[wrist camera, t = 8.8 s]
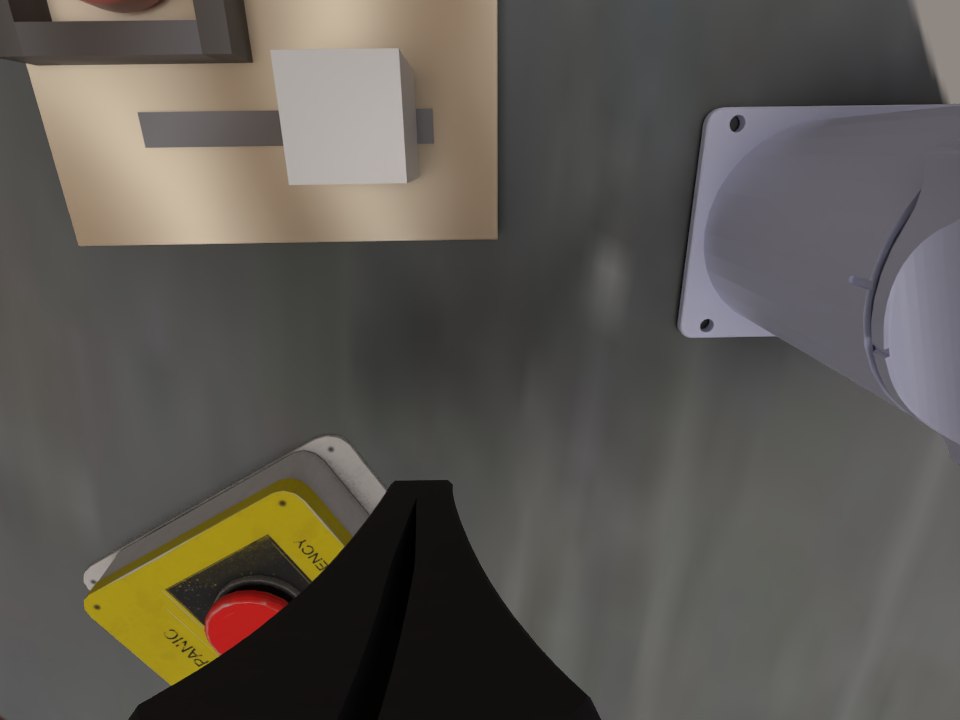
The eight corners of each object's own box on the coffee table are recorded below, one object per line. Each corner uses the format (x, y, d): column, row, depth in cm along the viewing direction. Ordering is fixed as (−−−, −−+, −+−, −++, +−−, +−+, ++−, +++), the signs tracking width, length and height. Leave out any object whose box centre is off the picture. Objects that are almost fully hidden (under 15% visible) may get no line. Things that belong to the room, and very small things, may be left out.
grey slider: (413, 70, 16) (398, 48, 12) (419, 177, 17) (407, 183, 13) (312, 71, 15) (269, 49, 12) (324, 179, 17) (288, 184, 13)
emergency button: (451, 644, 21) (170, 773, 24) (454, 565, 25) (214, 682, 28) (310, 478, 18) (6, 646, 21) (339, 419, 22) (82, 565, 25)
